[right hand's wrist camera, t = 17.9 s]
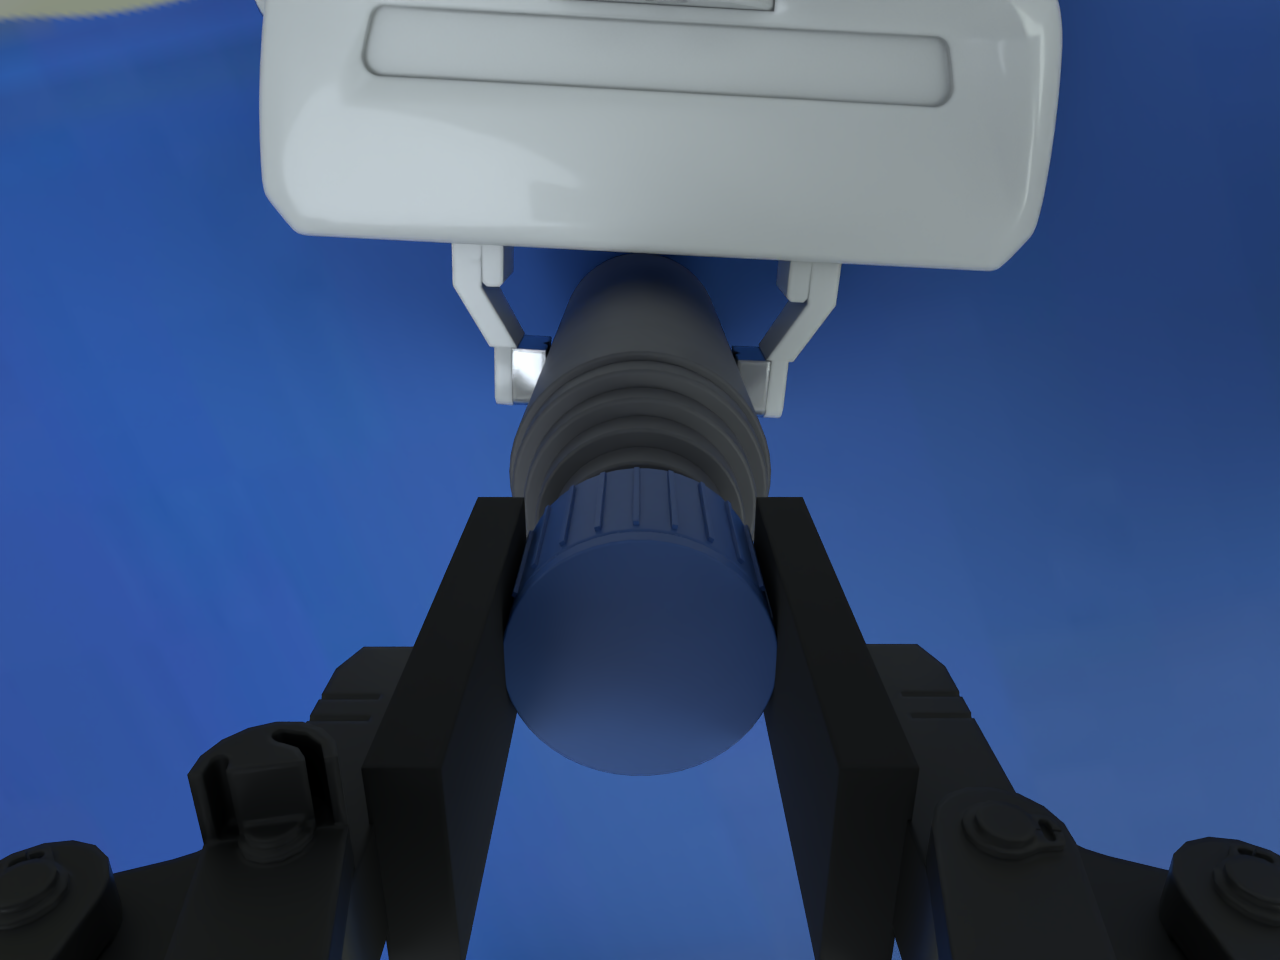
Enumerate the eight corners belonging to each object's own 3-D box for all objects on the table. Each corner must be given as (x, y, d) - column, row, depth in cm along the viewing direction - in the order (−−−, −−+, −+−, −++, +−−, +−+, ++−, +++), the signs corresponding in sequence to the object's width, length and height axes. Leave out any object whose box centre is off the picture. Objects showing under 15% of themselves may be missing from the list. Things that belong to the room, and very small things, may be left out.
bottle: (647, 219, 31) (658, 384, 11) (747, 337, 32) (909, 661, 13) (532, 324, 32) (366, 632, 13) (633, 432, 33) (625, 855, 14)
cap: (472, 583, 15) (439, 676, 12) (629, 413, 14) (626, 478, 11) (649, 712, 16) (651, 822, 13) (808, 564, 15) (843, 654, 12)
